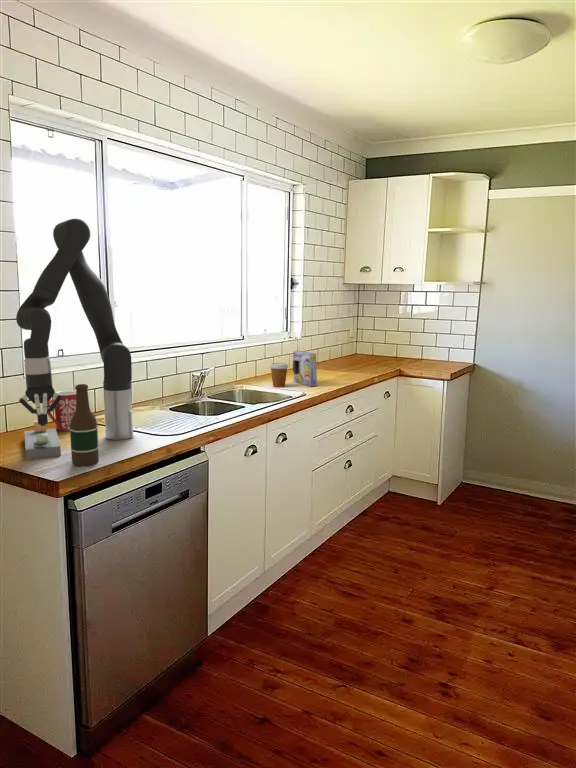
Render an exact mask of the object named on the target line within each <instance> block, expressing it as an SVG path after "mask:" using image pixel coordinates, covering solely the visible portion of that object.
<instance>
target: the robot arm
mask: <svg viewBox="0 0 576 768" xmlns="http://www.w3.org/2000/svg"><path fill="white" fill-rule="evenodd" d="M52 236H53V237H52V238H53V240H54V243H55V245H56V248H57V249H58V250H57V251H56V253H55V255H54V256H53V257H52V259H51V260H50V261H49V262H48V263H47V265H46V266H45V267H44V269H43V271H42V272H41V274H40V275H39V277H38V279H37V281H36V283H35V285H34V287H33V289H32V292H31V293H30V294H29V296H27V298H26V299H25V300H24V301H23V303H22V304H21V306H20V307H19V308H18V310H17V312H16V317H15V319H16V324H17V326H18V327H19V328H21V329H23V330H25V331H31V332H30V337H29V338H26V339H24V341H23V352H24V353H23V354H24V372H25V374H24V375H25V385H26V390H25V392H24V393H25V394H24V395H23V396H22V397H19V399H18V401H19V403H20V404H21V405H22V406H23V407H25V409H26V410H28V412H30V413H31V414H33V415H34V414H35V415H36V416H37V420H38V424H39V425H41V426H46V427H47V424H48V423H49V422H48V421H49V420H48V419H49V418H48V413H49V412H51V413H52V412H53V411H55V409H54V408H55V407H56V405H57V404H58V403H59V401H60V400H61V398H62V396H61V395H60V394H57V393H56V392H57V391H55V389H54V387H53V377H52V376H53V375H52V365H51V361H50V353H49V340H50V335H51V329H52V317H51V314H50V312H49V311H48V310H47V309H46V308H47V307H50V306H53V304H54V303H55V302H56V300H57V298H58V296H59V293H60V291H61V289H62V286H63V285H64V283H65V280H66V278H67V276H68V275H70V278H71V281H72V283H73V286H74V288H75V291H76V294H77V297H78V299H79V302H80V305H81V307H82V310H83V312H84V314H85V316H86V319H87V320H88V322H89V325H90V326H91V328H92V330H93V332H94V335H95V338H96V342H97V345H98V348H99V353H100V358H101V360H102V363H103V382H102V386H103V387H102V388H103V405H104V410H103V411H104V427H105V438H106V439H108V440H114V441H116V440H117V441H118V440H126V439H132V438H133V436H134V424H133V421H134V418H133V407H132V405H133V404H132V380H133V379H132V378H133V377H132V376H133V371H132V370H133V369H132V364H133V363H132V354H131V352H130V349H129V348H128V347H127V346H126V345H124V342H123V341H122V339H121V337H120V334H119V332H118V331H117V327H116V325H115V320H114V313H113V309H112V308H113V307H112V304H111V301H110V296H109V294H108V292H107V289H106V287H105V284H104V282H103V281H102V279H101V278H100V276H99V275H97V273H96V272H95V271H94V270H93V269H92V268H91V266H90V264H88V262H87V259H86V257H85V255H84V251H83V250H84V248H85V247H86V245H88V243H89V241H90V240H91V230H90V227H89V225H88V223H87V222H86V221H84V220H83V219H81V218H70V219H67V220H63V221H61V222H60V223H59V222H58V224H56V225H55V226H54V228H53V231H52ZM53 395H54V397H53ZM53 399H54V401H53V402H51V403H50V406H49V407H48V408H47V402H49V401H50V400H53ZM29 400H30V401H31V402H32V403H33V404H34V405H35V408H34V407H33V406H32V405H31V404H30V403H29ZM41 406H42V409H41Z"/></svg>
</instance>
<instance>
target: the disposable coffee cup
mask: <svg viewBox="0 0 576 768" xmlns="http://www.w3.org/2000/svg"><path fill="white" fill-rule="evenodd" d="M269 367H270V373H271V380H272V387H273V388H284V387H285V388H286V381H287V373H288V368H289V366H288V363H285V362H273V363H270V366H269Z"/></svg>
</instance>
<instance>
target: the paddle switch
mask: <svg viewBox="0 0 576 768" xmlns="http://www.w3.org/2000/svg"><path fill="white" fill-rule="evenodd" d="M33 425H34V430H35V432H40V431H46V429H47V425H46V426H41V425H39V424H38V419H35V420H33Z"/></svg>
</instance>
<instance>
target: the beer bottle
mask: <svg viewBox="0 0 576 768" xmlns="http://www.w3.org/2000/svg"><path fill="white" fill-rule="evenodd" d="M88 389H89V386H88V384H87V383H86V384H85V383H81V384H80V383H79V384H76V385H75V386H74V390H76V411H75V414H74V415H73V417H72V419H71V422H70V430H69V432H70V433H69V434H70V450H71V451H70V453H71V462H72V463H71V464H72V465H73V466H75V467H77V466H78V468H82V467H81V466H88V467H91V465H92V466H95V464H96V465H97V464H98V463H99V455H100V453H99V434H98V433H99V432H98V422H97V419H96V416H95V414H94V413H93V411H91V407H90V401H89V392H88V391H89V390H88Z"/></svg>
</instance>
